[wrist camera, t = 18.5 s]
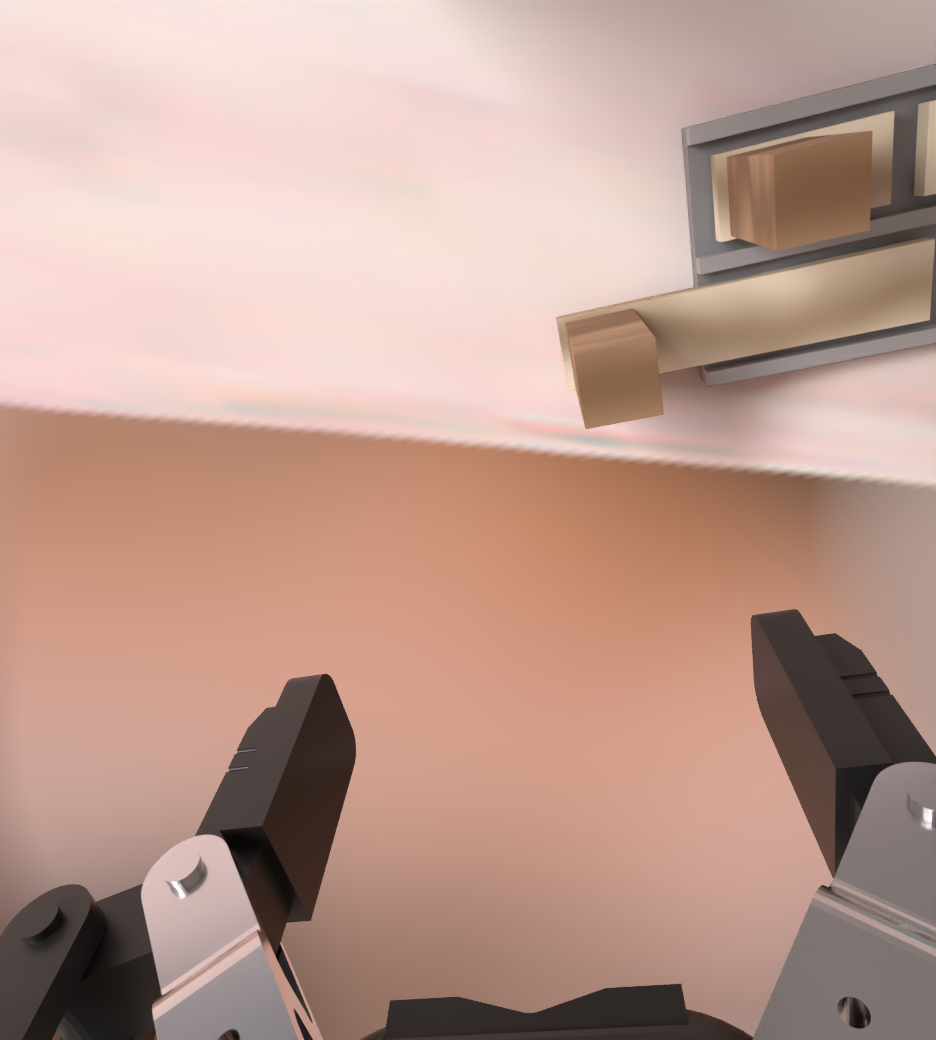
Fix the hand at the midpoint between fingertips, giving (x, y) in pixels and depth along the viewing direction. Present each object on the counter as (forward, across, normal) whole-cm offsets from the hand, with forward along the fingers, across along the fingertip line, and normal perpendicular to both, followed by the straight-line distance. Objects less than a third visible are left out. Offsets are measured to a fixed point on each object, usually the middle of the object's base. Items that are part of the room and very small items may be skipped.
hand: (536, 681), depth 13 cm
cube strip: (+29, -11, +1) cm, 31 cm away
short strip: (+29, -15, -5) cm, 33 cm away
